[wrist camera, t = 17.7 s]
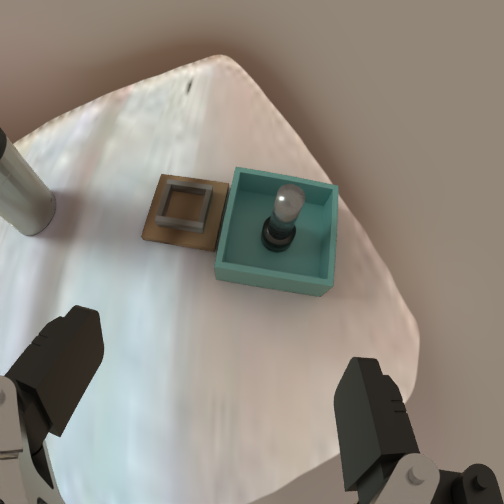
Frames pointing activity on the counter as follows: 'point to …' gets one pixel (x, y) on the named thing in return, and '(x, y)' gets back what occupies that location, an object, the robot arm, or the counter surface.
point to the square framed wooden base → (186, 212)
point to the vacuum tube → (283, 219)
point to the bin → (301, 249)
